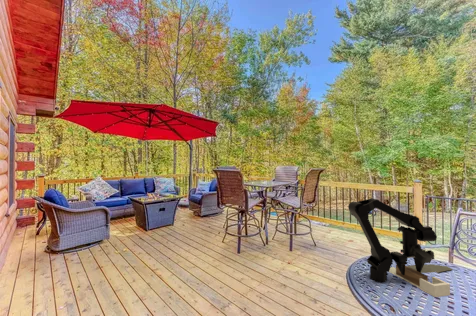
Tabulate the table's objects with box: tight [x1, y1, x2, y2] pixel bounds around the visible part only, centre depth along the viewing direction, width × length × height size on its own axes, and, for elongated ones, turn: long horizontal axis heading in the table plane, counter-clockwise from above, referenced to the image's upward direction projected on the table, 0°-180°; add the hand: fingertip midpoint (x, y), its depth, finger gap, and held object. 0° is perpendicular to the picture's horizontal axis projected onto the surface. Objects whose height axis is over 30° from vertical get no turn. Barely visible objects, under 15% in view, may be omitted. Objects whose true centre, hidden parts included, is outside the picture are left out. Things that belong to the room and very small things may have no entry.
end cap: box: [419, 276, 451, 298], centre depth 91 cm, size 8×6×4 cm
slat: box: [395, 264, 429, 286], centre depth 100 cm, size 4×12×4 cm, turn 11°
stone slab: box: [406, 263, 453, 274], centre depth 113 cm, size 22×3×10 cm
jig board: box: [388, 266, 448, 297], centre depth 100 cm, size 7×26×1 cm, turn 11°
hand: (411, 273), depth 100 cm, fingers open, 9 cm apart
